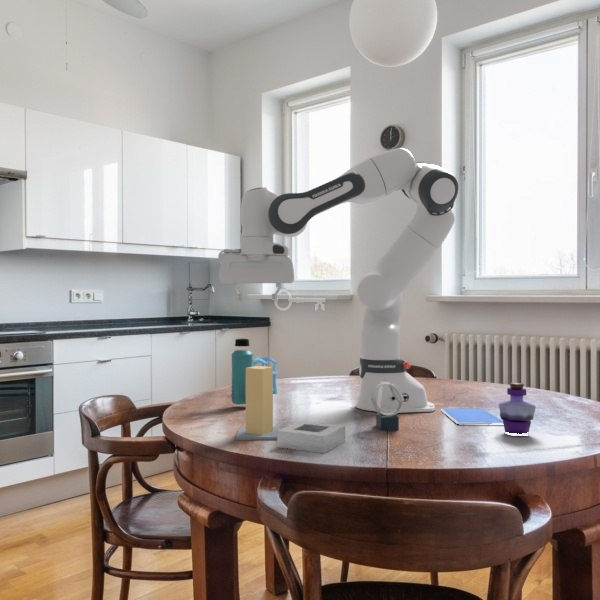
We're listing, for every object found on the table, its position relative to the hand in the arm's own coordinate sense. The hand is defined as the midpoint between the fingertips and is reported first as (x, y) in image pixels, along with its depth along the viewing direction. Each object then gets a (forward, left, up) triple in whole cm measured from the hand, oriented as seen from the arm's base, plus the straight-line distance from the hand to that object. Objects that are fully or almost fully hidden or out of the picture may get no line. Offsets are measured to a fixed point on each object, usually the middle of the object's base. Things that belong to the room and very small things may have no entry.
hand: (257, 300), depth 155 cm
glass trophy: (-33, +14, -31) cm, 48 cm away
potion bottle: (-62, +21, -31) cm, 73 cm away
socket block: (-14, +30, -31) cm, 45 cm away
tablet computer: (-57, +2, -32) cm, 66 cm away
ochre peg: (-2, +21, -30) cm, 37 cm away
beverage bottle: (+5, -12, -31) cm, 34 cm away
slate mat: (-2, +21, -31) cm, 38 cm away
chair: (0, -38, -31) cm, 49 cm away
